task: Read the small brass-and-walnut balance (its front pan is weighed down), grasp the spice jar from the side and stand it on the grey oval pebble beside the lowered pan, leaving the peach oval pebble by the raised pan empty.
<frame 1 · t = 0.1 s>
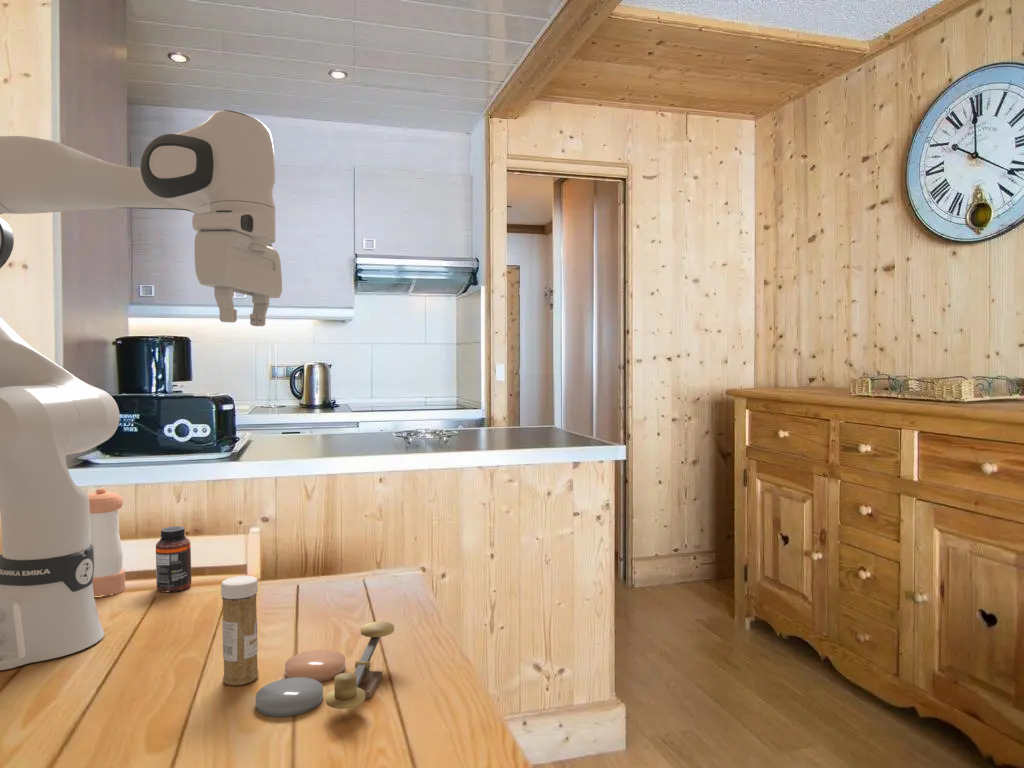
hand: (243, 324, 103), 48 cm above the table, tool pointing down, fingers open, 8 cm apart
grey oval pebble: (289, 701, 89), on the table
spice jar: (240, 680, 95), on the table
pepper shaker: (102, 592, 131), on the table
balance: (362, 687, 93), on the table
supplement bottle: (174, 589, 133), on the table
peach oval pebble: (315, 670, 98), on the table
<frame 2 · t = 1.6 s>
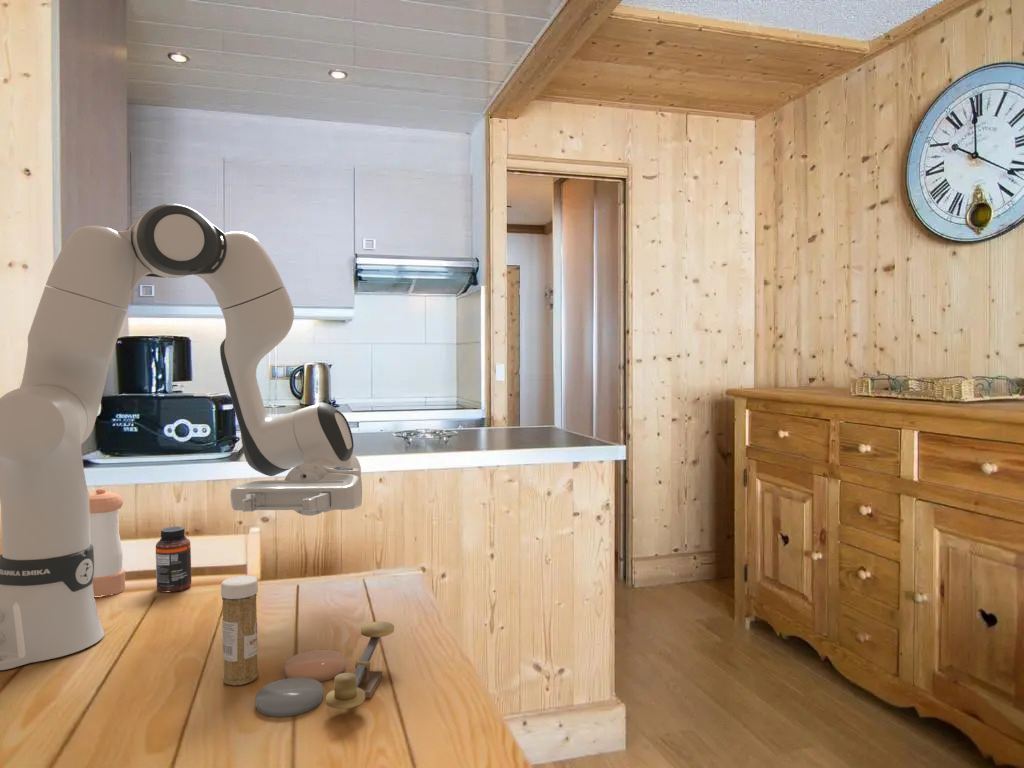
hand: (276, 506, 106), 21 cm above the table, tool horizontal, fingers open, 8 cm apart
nothing on the table moved.
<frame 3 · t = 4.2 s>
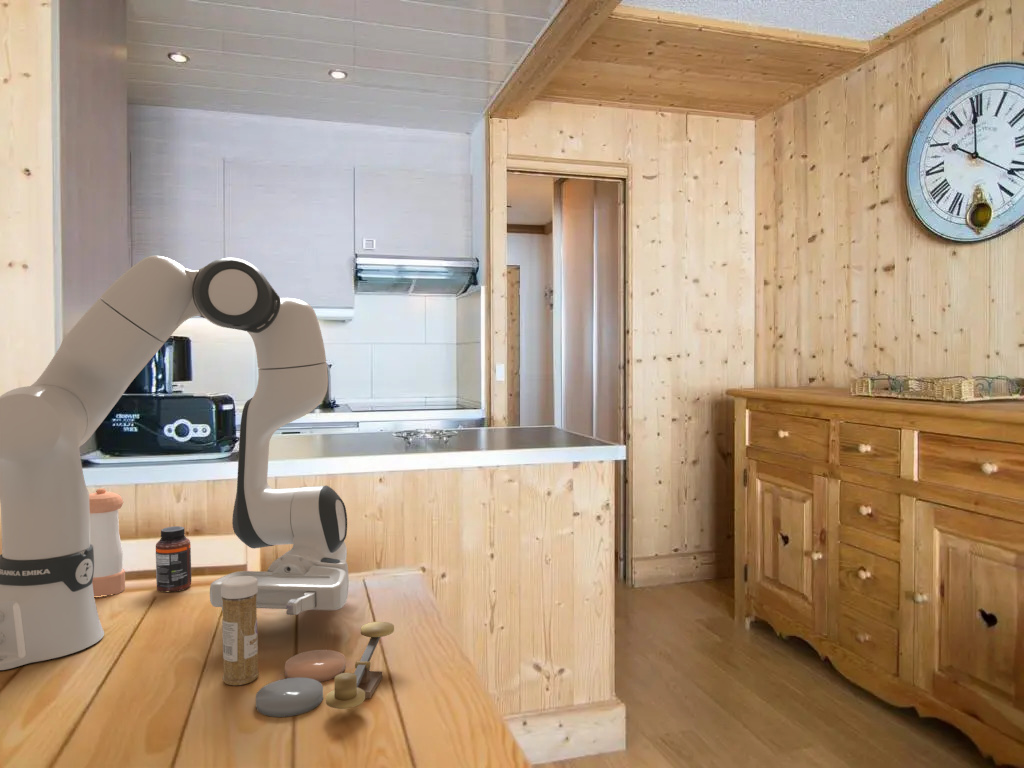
hand: (258, 608, 101), 7 cm above the table, tool horizontal, fingers open, 8 cm apart
nothing on the table moved.
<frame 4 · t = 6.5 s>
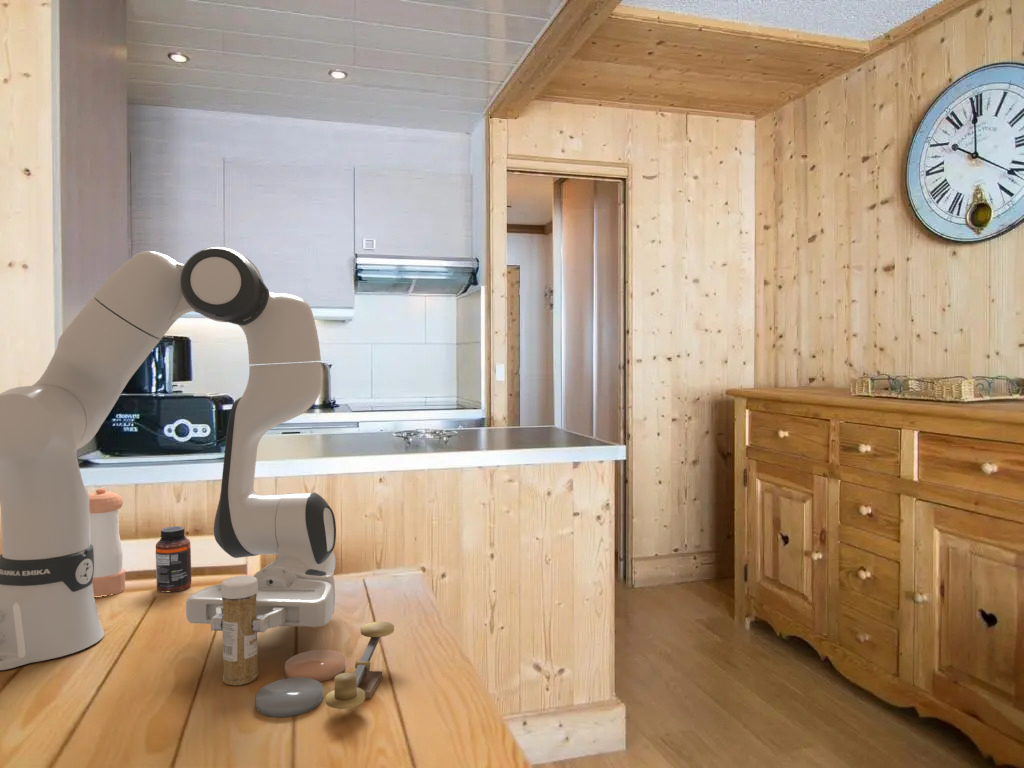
hand: (236, 625, 94), 8 cm above the table, tool horizontal, fingers closed on spice jar, 4 cm apart
spice jar: (240, 680, 95), on the table, touching gripper
everything else where it was.
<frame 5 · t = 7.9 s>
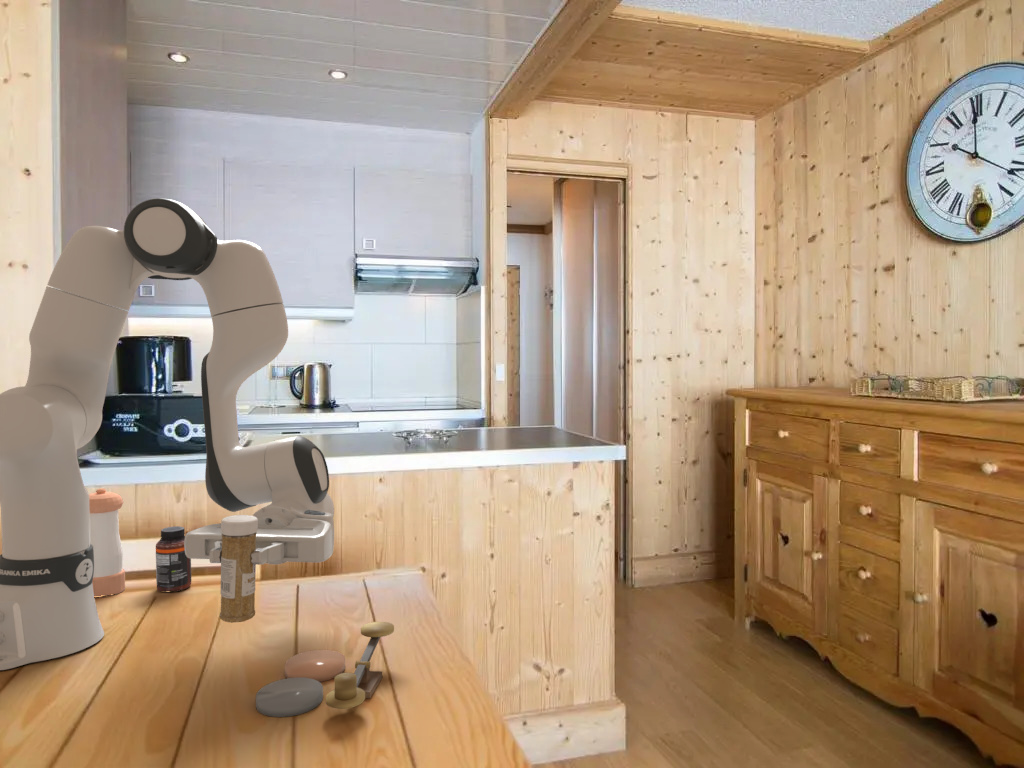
hand: (235, 558, 94), 17 cm above the table, tool horizontal, fingers closed on spice jar, 4 cm apart
spice jar: (237, 618, 95), point 8 cm above the table, touching gripper
everything else where it was.
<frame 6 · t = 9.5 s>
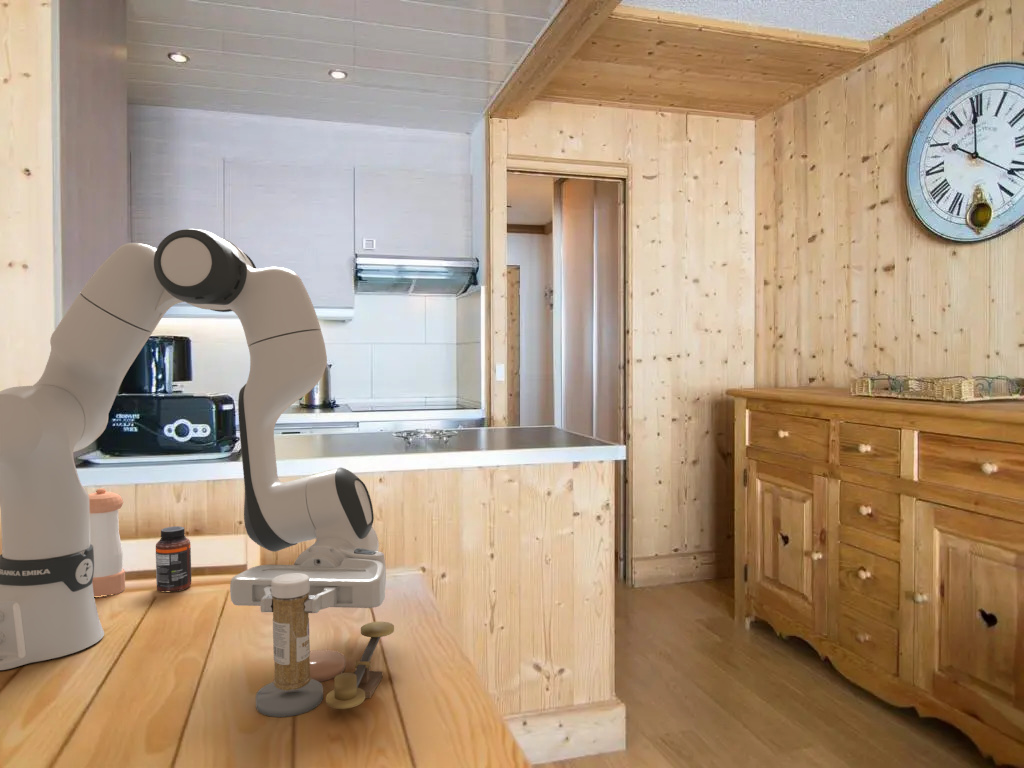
hand: (288, 606, 88), 12 cm above the table, tool horizontal, fingers closed on spice jar, 4 cm apart
spice jar: (292, 684, 89), point 2 cm above the table, touching gripper
everything else where it was.
when the fingers open (11 cm above the table, at t = 10.6 s): spice jar stays where it is, resting on grey oval pebble.
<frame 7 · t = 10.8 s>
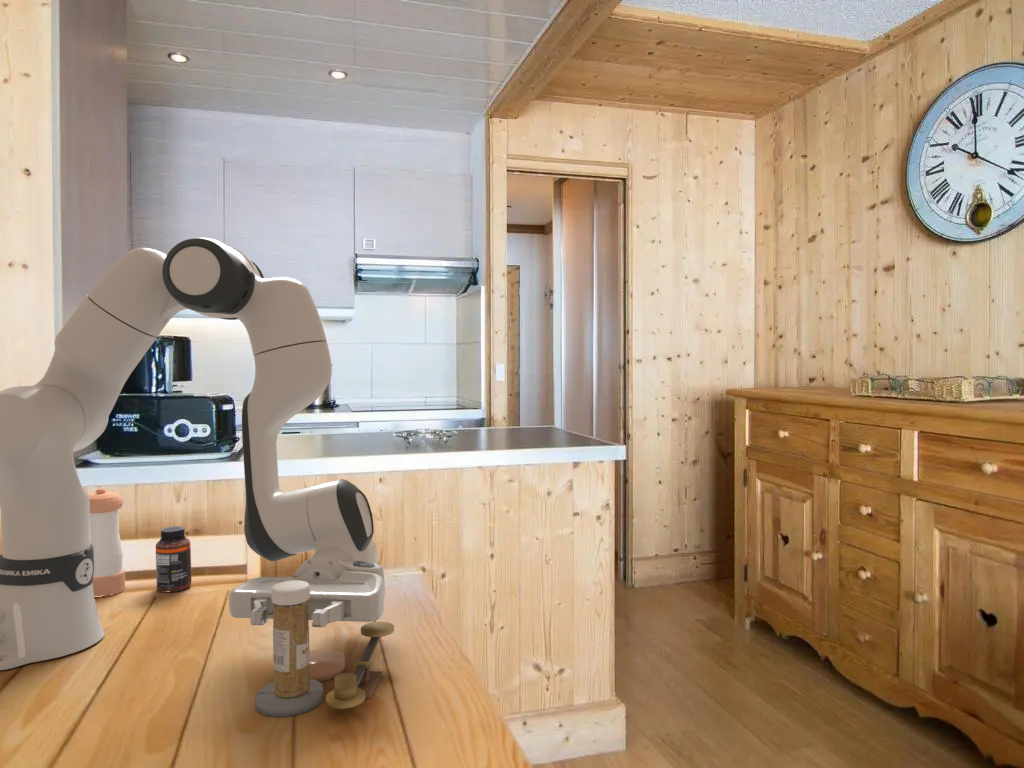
hand: (286, 620, 88), 11 cm above the table, tool horizontal, fingers open, 6 cm apart
spice jar: (291, 692, 89), point 1 cm above the table, touching grey oval pebble
everything else where it was.
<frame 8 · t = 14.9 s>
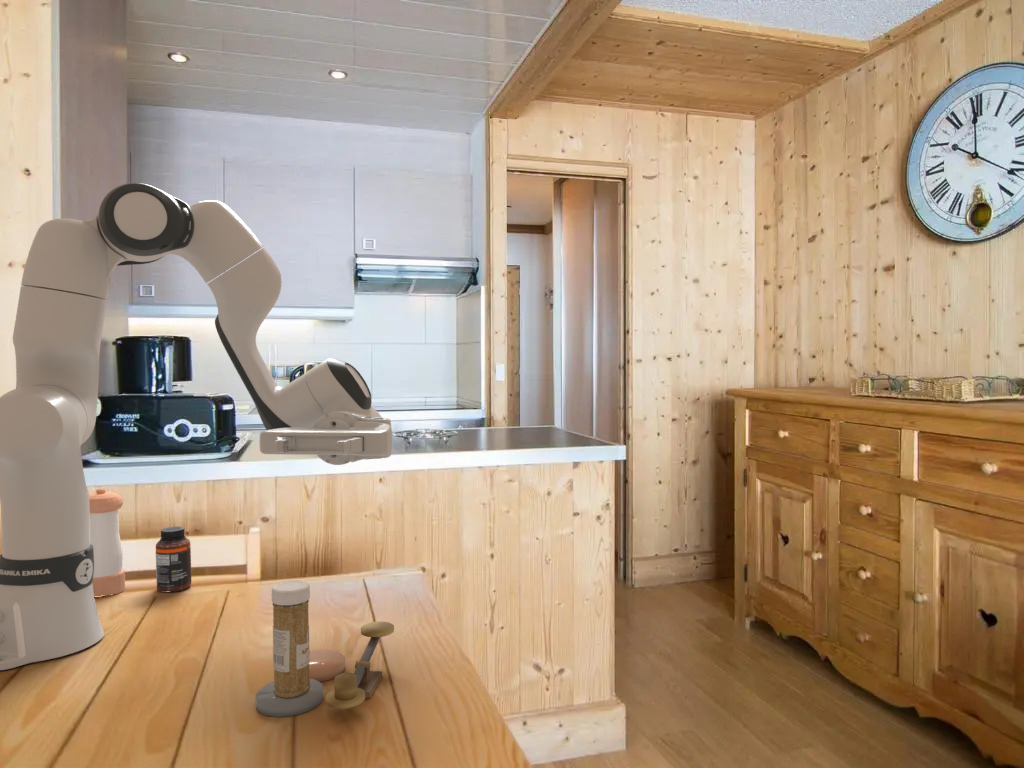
hand: (310, 447, 104), 30 cm above the table, tool horizontal, fingers open, 8 cm apart
nothing on the table moved.
at the end: spice jar 0.2 cm off-centre on the grey oval pebble, point 1.0 cm above the grey oval pebble's base; spice jar tilted 0°; the gripper is holding nothing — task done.
